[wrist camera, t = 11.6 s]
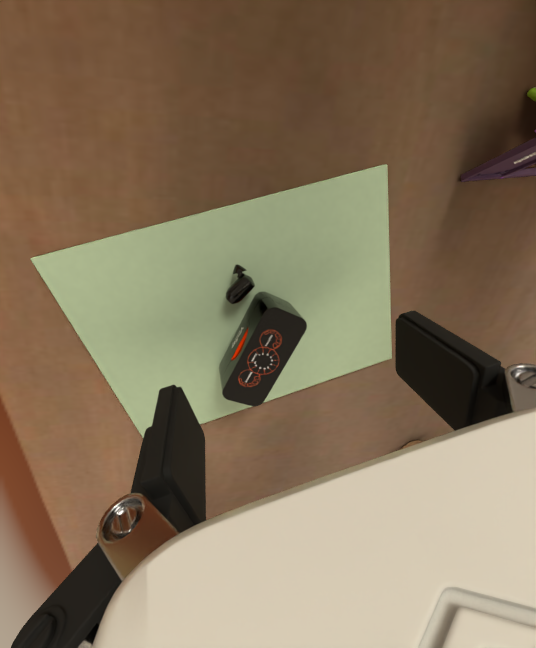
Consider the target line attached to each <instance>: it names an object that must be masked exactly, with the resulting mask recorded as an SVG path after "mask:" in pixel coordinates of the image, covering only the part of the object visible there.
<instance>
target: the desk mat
mask: <svg viewBox="0 0 536 648" xmlns="http://www.w3.org/2000/svg"><path fill="white" fill-rule="evenodd" d="M31 261H32V262H33V264H34V266H35V267H36V269H37V270H38V272H39V273H40V275H41V277H42V278H43V280H44V281H45V283H46V285H47V286H48V288H49V289H50V291H51V293H52V294H53V296H54V297H55V299H56V301H57V302H58V304H59V305H60V307H61V308H62V310H63V312H64V313H65V315H66V316H67V318H68V320H69V321H70V323H71V324H72V326H73V328H74V329H75V331H76V332H77V334H78V335H79V337H80V339H81V340H82V342H83V343H84V345H85V347H86V348H87V350H88V351H89V353H90V355H91V356H92V358H93V359H94V361H95V362H96V364H97V366H98V367H99V369H100V370H101V372H102V374H103V375H104V377H105V378H106V380H107V382H108V383H109V385H110V386H111V388H112V390H113V391H114V393H115V394H116V396H117V397H118V399H119V401H120V402H121V404H122V405H123V407H124V409H125V410H126V412H127V413H128V415H129V417H130V418H131V420H132V421H133V423H134V424H135V426H136V428H137V429H138V431H139V432H140V434H141V436H142V437H143V438H144V433H145V431H146V429H147V428H148V427H151V426H152V423H153V418H154V413H155V408H156V404H157V399H158V394H159V390H160V389H161V388H164V387H168V386H171V385H176V387H182V389H183V391H184V393H185V395H186V397H187V399H188V401H189V403H190V406H191V408H192V410H193V412H194V414H195V416H196V418H197V420H198V422H199V424H203V423H206V422H209V421H212V420H214V419H217V418H220V417H223V416H226V415H229V414H232V413H235V412H238V411H240V410H243V409H246V408H249V407H252V406H249V405H245V404H241V403H238V402H234V401H230V400H227V399H225V398H224V397H223V395H222V387H221V380H220V373H219V365H220V362H221V360H222V358H223V356H224V354H225V352H226V350H227V349H228V347H229V345H230V343H231V341H232V339H233V337H234V335H235V333H236V331H237V329H238V327H239V325H240V323H241V321H242V319H243V317H244V315H245V313H246V311H247V309H248V307H249V305H250V303H251V301H252V299H253V297H254V296H255V295H256V294H257V293H258V292H262V291H264V292H267V293H270V294H272V295H274V296H276V297H279V298H281V299H283V300H285V301H287V302H289V303H290V304H291V305H292V306H293V307H294V308H295V309H296V311H297V312H298V313H299V314H300V315H301V316H302V317H303V319H304V320H305V321H306V323H307V329H306V331H305V333H304V335H303V336H302V338H301V340H300V342H299V343H298V345H297V347H296V348H295V350H294V352H293V353H292V355H291V357H290V358H289V360H288V362H287V364H286V365H285V367H284V369H283V370H282V372H281V374H280V375H279V377H278V379H277V380H276V382H275V384H274V386H273V387H272V389H271V391H270V392H269V394H268V396H267V397H266V399H265V401H264V402H266V401H269V400H272V399H275V398H278V397H281V396H284V395H287V394H290V393H292V392H295V391H298V390H301V389H304V388H307V387H310V386H313V385H316V384H319V383H321V382H324V381H327V380H330V379H333V378H336V377H339V376H342V375H345V374H347V373H350V372H353V371H356V370H359V369H362V368H365V367H368V366H371V365H373V364H376V363H379V362H382V361H385V360H388V359H391V358H392V346H391V303H390V260H389V217H388V174H387V164H385V165H380V166H376V167H373V168H369V169H365V170H361V171H358V172H354V173H350V174H346V175H342V176H339V177H335V178H331V179H327V180H324V181H320V182H316V183H312V184H308V185H305V186H301V187H297V188H293V189H290V190H286V191H282V192H278V193H274V194H271V195H267V196H263V197H259V198H255V199H252V200H248V201H244V202H240V203H237V204H233V205H229V206H225V207H221V208H218V209H214V210H210V211H206V212H203V213H199V214H195V215H191V216H187V217H184V218H180V219H176V220H172V221H169V222H165V223H161V224H157V225H153V226H150V227H146V228H142V229H138V230H135V231H131V232H127V233H123V234H119V235H116V236H112V237H108V238H104V239H100V240H97V241H93V242H89V243H85V244H82V245H78V246H74V247H70V248H66V249H63V250H59V251H55V252H51V253H48V254H44V255H40V256H36V257H33V258H31ZM237 264H238V265H240V266H242V267H244V268H245V269H246V270H247V271H244V272H243V273H245V274H246V275H248V276H250V277H251V278H252V279H253V281H254V283H255V287H254V288H253V289H252V290H251V291H250V292H249V293H248V294H247V295H246V296H245V297H244V299H243V300H242V301H240V302H239V303H236V304H231V303H230V302H229V301H228V300H227V299H226V292H227V290H228V288H229V287H230V286H231V285H232V284H233V283H234V282H235V281H236V280H237V279H238V278H237V275H238V274H233V270H234V267H235V265H237ZM264 402H263V403H264Z"/></svg>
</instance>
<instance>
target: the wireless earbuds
mask: <svg viewBox="0 0 536 648" xmlns="http://www.w3.org/2000/svg"><path fill="white" fill-rule="evenodd" d="M244 271H247V270H246V269H245V268H244V267H242V266H240V265H238V264H237V265H235V267H234V270H233V274H238V275H237V278H238V279H237V280H236V281H235V282H234V283H233V284H232V285H231V286H230V287H229V288H228V290H227V292H226V299H227V300H228V301H229V302H230V303H231V304H236V303H239V302H240V301H242V300H243V299H244V297H245V296H246V295H247V294H248V293H249V292H250V291H251V290H252V289H253V288H254V287H255V283H254V281H253V279H252V278H251V277H250V276H248V275H246V274H245V273H243V272H244ZM306 329H307V323H306V321H305V320H304V319H303V317H302V316H301V315H300V314H299V313H298V312H297V311H296V309H295V308H294V307H293V306H292V305H291V304H290V303H289V302H287V301H285V300H283V299H281V298H279V297H276V296H274V295H272V294H270V293H267V292H264V291H262V292H258V293H257V294H256V295H255V296H254V297H253V299H252V301H251V303H250V305H249V307H248V309H247V311H246V313H245V315H244V317H243V319H242V321H241V323H240V325H239V327H238V329H237V331H236V333H235V335H234V337H233V339H232V341H231V343H230V345H229V347H228V349H227V350H226V352H225V354H224V356H223V358H222V360H221V362H220V365H219V373H220V380H221V387H222V395H223V397H224V398H225V399H227V400H230V401H234V402H238V403H241V404H245V405H249V406H258V405H261V404H262V403H263V402H264V401H265V399H266V397H267V396H268V394H269V392H270V391H271V389H272V387H273V386H274V384H275V382H276V380H277V379H278V377H279V375H280V374H281V372H282V370H283V369H284V367H285V365H286V364H287V362H288V360H289V358H290V357H291V355H292V353H293V352H294V350H295V348H296V347H297V345H298V343H299V342H300V340H301V338H302V336H303V335H304V333H305V331H306Z"/></svg>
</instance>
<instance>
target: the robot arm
mask: <svg viewBox="0 0 536 648" xmlns="http://www.w3.org/2000/svg"><path fill="white" fill-rule="evenodd" d="M500 365H501V362H500V361H498V360H497V359H495V358H493V357H492V356H490V355H488V354H487V353H485V352H483V351H482V350H480V349H478V348H477V347H475V346H473V345H472V344H470V343H468V342H466V341H465V340H463V339H461V338H460V337H458V336H456V335H455V334H453V333H451V332H450V331H448V330H446V329H445V328H443V327H441V326H440V325H438V324H436V323H435V322H433V321H431V320H430V319H428V318H426V317H425V316H423V315H421V314H420V313H418V312H416V311H410V312H407V313H403V314H401V315H399V318H398V319H397V320H396V371H397V374H398V375H399V376H400V377H401V378H402V379H403V380H404V381H405V382H406V383H407V384H408V385H409V386H410V387H411V388H412V389H413V390H414V391H415V392H416V393H417V394H418V395H419V396H420V397H421V398H422V399H423V400H424V401H425V402H426V403H427V404H428V405H429V406H430V407H431V408H432V409H433V410H434V411H435V412H436V413H437V414H438V415H439V416H441V417H442V418H443V419H444V420H445V421H446V422H447V423H448V424H449V425H450V426H451V427H452V428H453V429H454V430H455V431H453V432H450V433H447V434H444V435H441V436H439V437H436V438H433V439H430V440H427V441H424V442H421V443H418V444H415V445H412V446H410V447H407V448H404V449H401V450H398V451H395V452H392V453H389V454H387V455H384V456H381V457H378V458H375V459H372V460H369V461H367V462H364V463H361V464H358V465H355V466H352V467H350V468H347V469H344V470H341V471H338V472H335V473H333V474H330V475H327V476H324V477H321V478H319V479H316V480H313V481H310V482H307V483H305V484H302V485H299V486H296V487H293V488H291V489H288V490H285V491H282V492H279V493H277V494H274V495H271V496H268V497H265V498H263V499H260V500H257V501H255V502H252V503H249V504H247V505H244V506H241V507H239V508H236V509H233V510H231V511H228V512H225V513H223V514H220V515H218V516H215V517H213V518H211V519H208V520H206V497H205V437H204V433H203V430H202V428H201V426H200V424H199V422H198V420H197V418H196V416H195V414H194V412H193V410H192V408H191V406H190V403H189V401H188V399H187V397H186V395H185V393H184V391H183V389H182V387H176V385H171V386H168V387H164V388H161V389H160V390H159V394H158V399H157V404H156V408H155V413H154V418H153V423H152V426H151V427H148V428H147V429H146V431H145V433H144V438H143V442H142V446H141V451H140V455H139V459H138V463H137V468H136V472H135V476H134V481H133V485H132V489H131V494H128V495H125V496H124V497H122V498H120V499H118V500H117V501H116V502H115V503H114V504H112V505H111V506H110V508H109V509H108V510H107V511H106V512H105V514H104V515H103V517H102V518H101V520H100V522H99V525H98V528H97V534H96V538H97V541H98V543H97V545H96V546H95V547H94V548H93V549H92V550H91V551H90V552H89V553H88V555H87V556H86V557H85V558H84V559H83V560H82V561H81V562H80V563H79V564H78V566H77V567H76V568H75V569H74V570H73V571H72V572H71V573H70V574H69V576H68V577H67V578H66V579H65V580H64V581H63V582H62V583H61V584H60V585H59V587H58V588H57V589H56V590H55V591H54V592H53V593H52V594H51V595H50V597H49V598H48V599H47V600H46V601H45V602H44V603H43V604H42V605H41V607H40V608H39V609H38V610H37V611H36V612H35V613H34V614H33V615H32V616H31V618H30V619H29V620H28V621H27V623H26V624H25V625H24V626H23V628H22V629H21V630H20V632H19V634H18V635H17V637H16V639H15V640H14V642H13V644H12V646H11V648H536V365H534V364H523V363H520V364H513V365H511V366H509V367H507V369H504V368H503V367H501V366H500Z"/></svg>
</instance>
